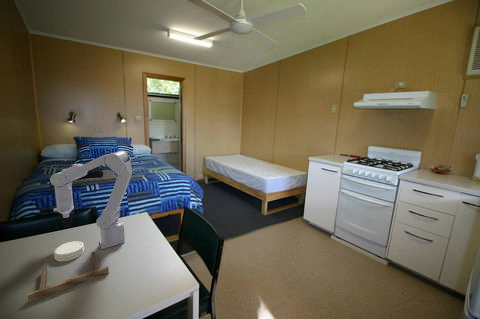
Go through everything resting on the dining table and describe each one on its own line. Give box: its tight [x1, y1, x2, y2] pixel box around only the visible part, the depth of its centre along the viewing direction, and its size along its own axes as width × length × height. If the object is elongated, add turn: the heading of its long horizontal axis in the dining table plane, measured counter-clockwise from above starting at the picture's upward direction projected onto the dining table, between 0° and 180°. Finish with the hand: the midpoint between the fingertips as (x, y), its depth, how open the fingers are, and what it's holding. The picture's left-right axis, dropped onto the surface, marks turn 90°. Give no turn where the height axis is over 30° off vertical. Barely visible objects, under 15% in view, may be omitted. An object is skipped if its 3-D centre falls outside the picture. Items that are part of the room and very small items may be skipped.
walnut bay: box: [26, 251, 110, 303], centre depth 79 cm, size 22×14×2 cm, turn 130°
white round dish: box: [53, 240, 85, 262], centre depth 91 cm, size 10×10×4 cm
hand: (67, 226), depth 97 cm, fingers closed
